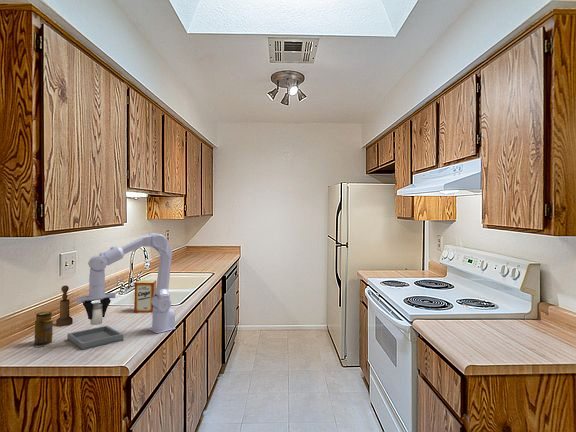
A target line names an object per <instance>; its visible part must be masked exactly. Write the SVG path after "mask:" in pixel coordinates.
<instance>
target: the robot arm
mask: <svg viewBox="0 0 576 432" xmlns="http://www.w3.org/2000/svg"><path fill="white" fill-rule="evenodd" d="M141 247H148V248H153V249H155V251H156V252H157V253H158V254H159V260H158V261H159V263H158V271H157V280H156V290H155V291H154V296H153V297H152V299H151V303H152V305H153V306H154V307H153V312H151V313H152V320H151V322H152V324H151V327H148V328H147V329H148V330H149V331H151V332H153V333H154V334H159V333H164V332H169V331H173V330H176V328H177V327H175V326H176V313H175V310H174V309H173V308H171V306H172V301H171V297H170V296H171V294H170V290H169V288H170V287H169V284H170V279H171V278H170V276H171V266H172V257H173V249H172V247H171V245H170V243H169V240H168V238H167V237H166V236H165V235H163V234H161V233H157V232H151V233H147V234H144V235H142V236H141V237H138V238H136V239H135V240H133V241H130V242H129V243H127V244H125V245H124V246H123V245H122V246H121V247H119V246H110V248H109V249H108V250H105V251H104V252H99V253H98V255H93V256H91V257H90V259H89V260H88V263H87V264H88V267H89V279H88V282H89V283H88V285H89V287H88V291H89V292H88V295H86V296H85V295H84V296H80V297H76V303H77V304H82V306H83V307H84V309H85V312H86V314H87V319H88V320H91V319H92V308H93V304H92V302H95V301H99V303H103V314H102V318H105V316H106V314H107V309H108V307H109V305H110V303H112V300H111V299H116V294H117V293H116V292H109V293H106V292H105V290H106V289H105V286H106V285H105V283H106V282H105V281H106V276H105V275H106V273H105V269H106V268H107V266H110V265H112V264H114V263H116V262H118V261H120V260H122V259H124V256H125V255H126V254H128V253H130V252H133V251H135V250H137V249H140V248H141Z"/></svg>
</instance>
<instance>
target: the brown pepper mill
mask: <svg viewBox="0 0 576 432" xmlns="http://www.w3.org/2000/svg"><path fill="white" fill-rule="evenodd" d="M69 289H70V288H69V286H68V285H62V286H61V289H60V290H61V292H62V295H61V298H62V299H60V300H59V317H58V318H57V319H56V320H55V326H56V327H66V326H67V327H68V326H71V325H72V324H73V323H74V322H73V320H74V319H73V317H71V315H70V299H68V295H69V294H68V292H69Z"/></svg>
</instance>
